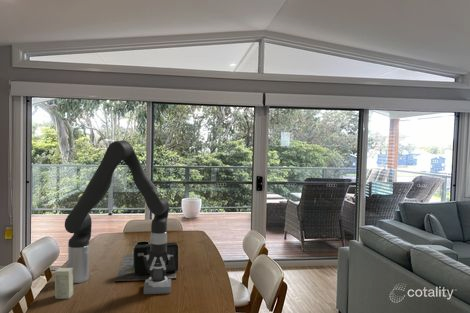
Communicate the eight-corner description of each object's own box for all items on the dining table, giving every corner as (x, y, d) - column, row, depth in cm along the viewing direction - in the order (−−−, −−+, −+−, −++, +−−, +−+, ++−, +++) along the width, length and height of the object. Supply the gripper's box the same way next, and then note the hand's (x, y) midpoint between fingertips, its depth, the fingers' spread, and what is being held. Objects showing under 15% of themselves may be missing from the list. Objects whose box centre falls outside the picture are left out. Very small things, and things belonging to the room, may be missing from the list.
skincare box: (73, 294, 154) (73, 267, 154) (69, 299, 150) (69, 271, 149) (58, 294, 154) (59, 267, 153) (54, 298, 150) (54, 271, 149)
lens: (151, 283, 159) (152, 266, 159) (152, 279, 164) (153, 262, 164) (162, 283, 160) (163, 266, 159) (163, 278, 165) (163, 262, 164)
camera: (133, 279, 173) (134, 249, 172) (133, 271, 182) (134, 243, 181) (179, 275, 179) (179, 247, 178) (177, 268, 188) (177, 241, 187)
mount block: (143, 294, 157) (143, 283, 157) (145, 285, 166) (145, 275, 165) (170, 293, 159) (170, 282, 158) (171, 284, 168) (171, 274, 167)
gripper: (141, 244, 156) (141, 281, 157) (174, 243, 158) (173, 280, 159) (143, 239, 163) (143, 274, 164) (174, 238, 166) (173, 273, 167)
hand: (157, 277), depth 162 cm, fingers closed on lens, 4 cm apart
